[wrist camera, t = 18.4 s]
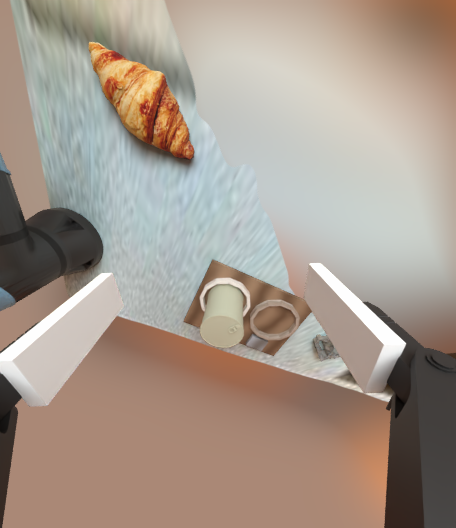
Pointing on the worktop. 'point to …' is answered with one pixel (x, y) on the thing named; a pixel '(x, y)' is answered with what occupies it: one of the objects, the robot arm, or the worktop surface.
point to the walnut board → (256, 309)
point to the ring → (226, 281)
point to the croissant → (142, 101)
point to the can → (223, 317)
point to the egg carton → (329, 348)
